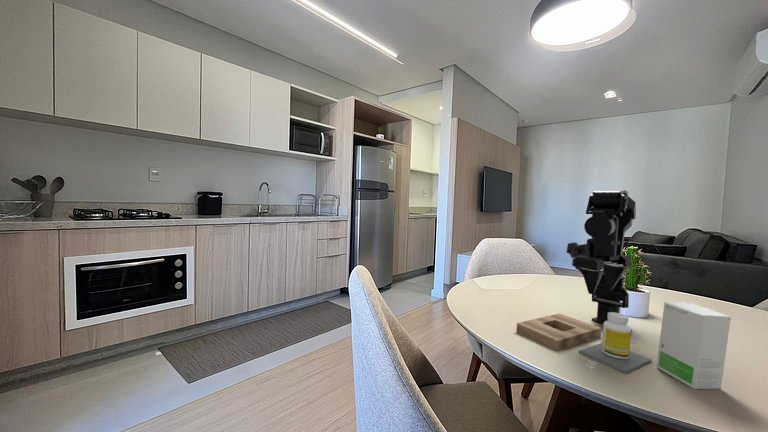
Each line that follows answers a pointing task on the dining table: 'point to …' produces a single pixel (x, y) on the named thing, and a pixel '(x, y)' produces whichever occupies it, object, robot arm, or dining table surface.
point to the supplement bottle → (616, 336)
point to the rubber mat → (619, 364)
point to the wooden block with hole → (558, 331)
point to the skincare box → (693, 344)
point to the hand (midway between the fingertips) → (600, 292)
